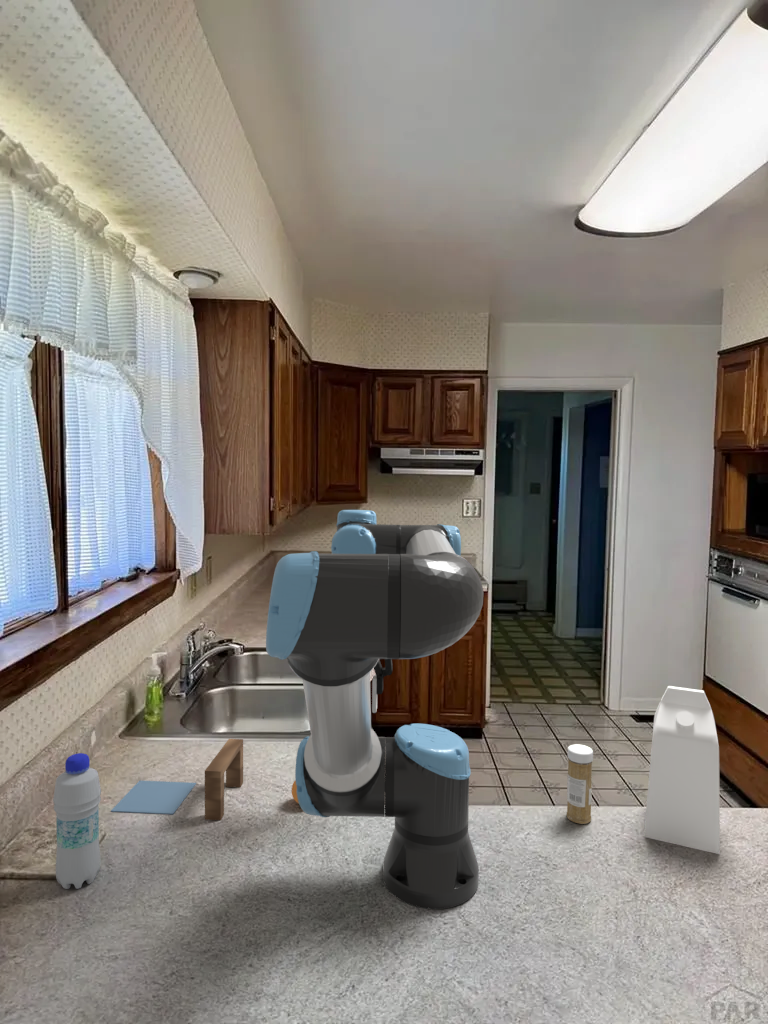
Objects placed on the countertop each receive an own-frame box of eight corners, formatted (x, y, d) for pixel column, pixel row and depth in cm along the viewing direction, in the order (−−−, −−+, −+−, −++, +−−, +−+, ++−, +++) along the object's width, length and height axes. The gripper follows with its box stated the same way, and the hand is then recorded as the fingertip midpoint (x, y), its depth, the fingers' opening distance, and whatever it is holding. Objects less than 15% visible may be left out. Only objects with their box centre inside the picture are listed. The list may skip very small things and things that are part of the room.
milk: (715, 821, 117) (721, 684, 116) (719, 854, 107) (725, 704, 106) (646, 806, 122) (650, 675, 121) (643, 836, 112) (648, 693, 111)
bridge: (243, 782, 130) (243, 739, 130) (220, 820, 116) (220, 771, 115) (229, 782, 130) (228, 738, 130) (204, 819, 116) (204, 770, 115)
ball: (317, 811, 119) (317, 783, 119) (288, 810, 119) (288, 782, 119) (322, 797, 125) (322, 770, 124) (294, 796, 125) (294, 769, 125)
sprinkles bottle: (596, 820, 117) (598, 750, 117) (580, 827, 115) (582, 755, 114) (576, 809, 121) (578, 741, 120) (560, 816, 118) (562, 746, 118)
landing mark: (173, 814, 118) (173, 813, 118) (111, 811, 118) (111, 810, 118) (196, 783, 130) (196, 782, 130) (139, 781, 130) (139, 780, 130)
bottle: (111, 872, 100) (110, 749, 99) (78, 898, 94) (76, 767, 93) (78, 863, 102) (77, 743, 101) (44, 888, 96) (42, 760, 95)
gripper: (408, 588, 123) (407, 704, 124) (308, 586, 124) (307, 700, 125) (407, 595, 115) (406, 718, 116) (301, 593, 116) (300, 714, 117)
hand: (355, 709), depth 121 cm, fingers open, 7 cm apart
